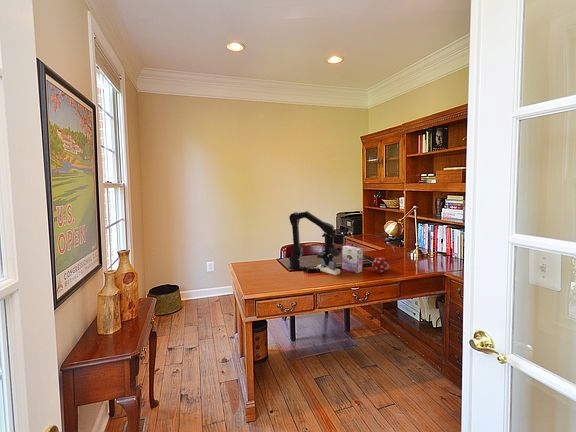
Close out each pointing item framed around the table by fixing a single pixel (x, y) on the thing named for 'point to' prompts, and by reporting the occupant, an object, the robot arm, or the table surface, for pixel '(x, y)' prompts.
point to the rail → (329, 270)
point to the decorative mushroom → (380, 265)
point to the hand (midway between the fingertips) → (328, 265)
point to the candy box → (352, 259)
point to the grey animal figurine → (329, 264)
